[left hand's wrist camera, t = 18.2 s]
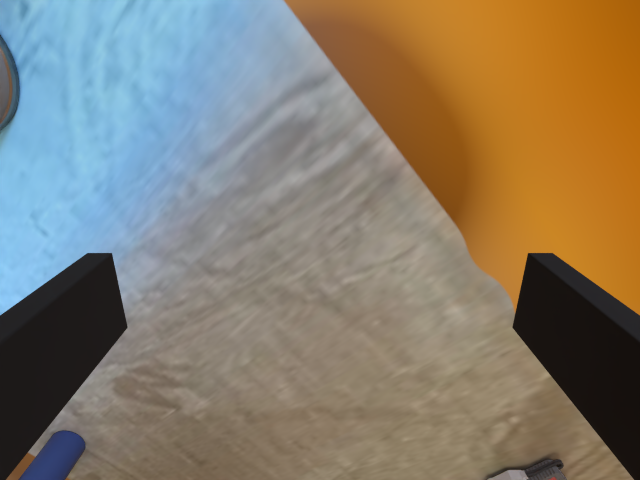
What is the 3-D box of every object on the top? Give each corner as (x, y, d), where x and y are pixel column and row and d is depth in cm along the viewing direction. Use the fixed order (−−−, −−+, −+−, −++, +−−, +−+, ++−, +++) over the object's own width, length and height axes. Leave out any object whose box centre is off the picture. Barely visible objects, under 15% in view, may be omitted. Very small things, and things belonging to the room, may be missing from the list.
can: (88, 436, 64) (40, 509, 53) (82, 459, 66) (33, 534, 55) (53, 426, 63) (-3, 498, 52) (48, 449, 65) (-8, 524, 54)
